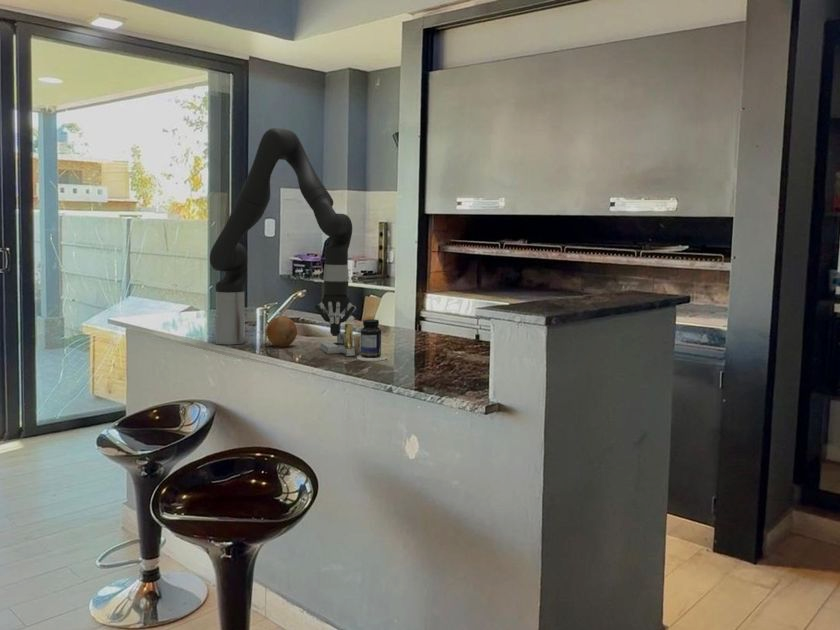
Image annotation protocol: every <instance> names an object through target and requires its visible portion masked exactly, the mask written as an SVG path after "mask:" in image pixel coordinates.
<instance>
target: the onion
mask: <svg viewBox="0 0 840 630" xmlns="http://www.w3.org/2000/svg"><path fill="white" fill-rule="evenodd" d="M297 328H298V327H297V325H296V323H295V322H294V321H293V320H292V319H291V318H290V317H288V316H286V315H281V316H277V317H274V318H273V319H271V320H270V322H269V323H268V325H267V327H266V334H267V335H266V336H267V339H268V341H269V342H270V343H271V344H272V346H275V347H277V346H279V347H278V348H281V347H282V348H283V347H287V346H290V345H291V344H293V342H295V340H296V338H297V335H298V329H297Z"/></svg>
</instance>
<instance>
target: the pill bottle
mask: <svg viewBox="0 0 840 630" xmlns="http://www.w3.org/2000/svg"><path fill="white" fill-rule="evenodd" d="M362 324H363V327H362V328H361V329H360V343H361V352H360V355H361V356H362V357H365V358H377V357H380V356H381V355H382V330H381V328H380V327H379V324H380V320H379V319H376V318H375V319H372V318H370V319H363V320H362Z"/></svg>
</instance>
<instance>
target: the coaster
mask: <svg viewBox="0 0 840 630" xmlns="http://www.w3.org/2000/svg"><path fill="white" fill-rule="evenodd" d="M387 358H388V356H387V355H383V354H381V356H380V357H377V358H365V357H362V356H361V354H360V355H359V356H356V360H358V361H362V362H363V361H364V362H381V361H382V362H383V361H387Z"/></svg>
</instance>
